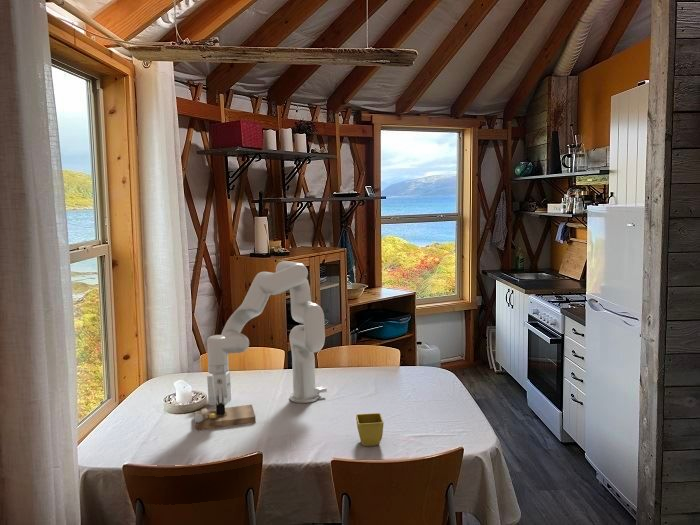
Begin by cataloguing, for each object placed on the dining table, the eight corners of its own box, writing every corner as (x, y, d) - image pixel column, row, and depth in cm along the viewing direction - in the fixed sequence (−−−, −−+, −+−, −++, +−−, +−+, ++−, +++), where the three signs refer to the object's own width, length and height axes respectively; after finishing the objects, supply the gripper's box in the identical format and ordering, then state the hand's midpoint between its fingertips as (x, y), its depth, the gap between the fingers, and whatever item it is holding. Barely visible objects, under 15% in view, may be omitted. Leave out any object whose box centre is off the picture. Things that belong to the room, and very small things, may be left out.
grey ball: (203, 420, 204) (202, 412, 204) (203, 423, 201) (202, 415, 201) (194, 421, 203) (193, 413, 203) (194, 424, 200) (194, 416, 200)
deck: (252, 410, 219) (251, 399, 219) (255, 422, 207) (255, 411, 206) (195, 417, 213) (195, 406, 213) (195, 430, 201) (195, 419, 200)
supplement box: (224, 406, 225) (223, 376, 223) (208, 405, 226) (206, 376, 225) (231, 399, 232) (230, 371, 230) (215, 398, 233) (214, 370, 232)
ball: (218, 421, 209) (217, 413, 211) (215, 419, 206) (214, 411, 208) (210, 423, 209) (209, 415, 211) (207, 421, 207) (206, 413, 208)
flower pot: (356, 438, 192) (355, 413, 191) (380, 436, 192) (380, 412, 191) (358, 449, 183) (358, 424, 182) (384, 448, 184) (383, 422, 183)
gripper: (229, 372, 201) (232, 419, 203) (227, 361, 215) (229, 405, 217) (208, 374, 199) (211, 422, 201) (207, 363, 213) (210, 408, 215)
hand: (220, 413), depth 209 cm, fingers closed
